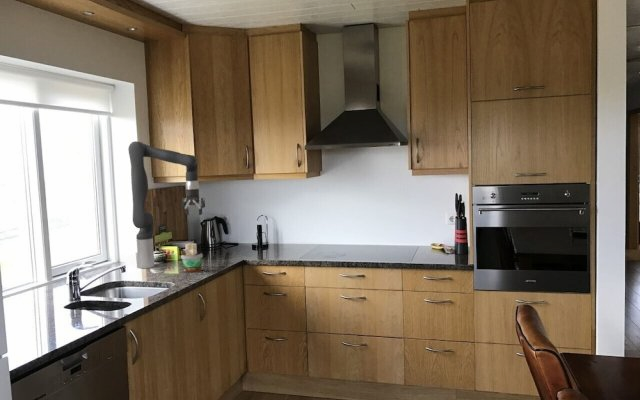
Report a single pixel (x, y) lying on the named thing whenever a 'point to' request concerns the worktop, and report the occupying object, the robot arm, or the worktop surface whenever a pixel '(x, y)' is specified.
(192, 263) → the food container
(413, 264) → the worktop surface
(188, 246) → the birch block
